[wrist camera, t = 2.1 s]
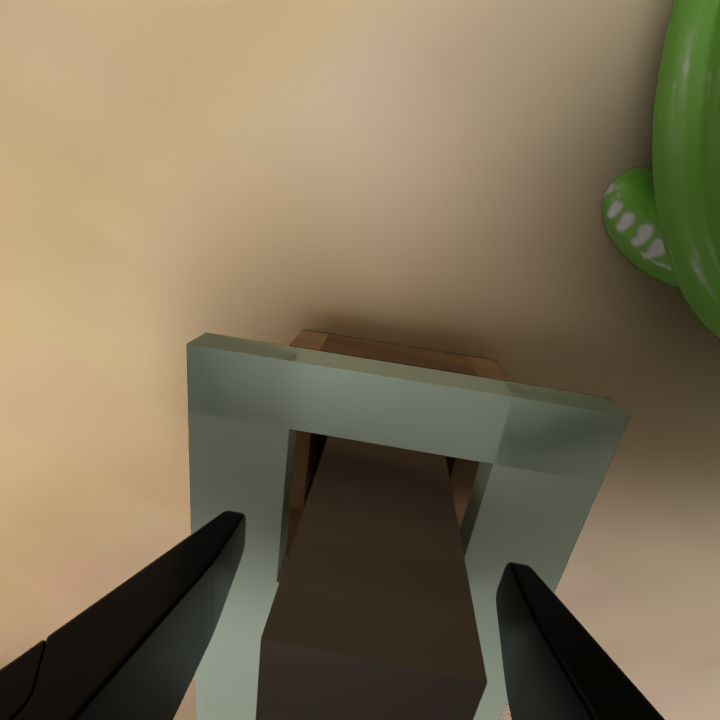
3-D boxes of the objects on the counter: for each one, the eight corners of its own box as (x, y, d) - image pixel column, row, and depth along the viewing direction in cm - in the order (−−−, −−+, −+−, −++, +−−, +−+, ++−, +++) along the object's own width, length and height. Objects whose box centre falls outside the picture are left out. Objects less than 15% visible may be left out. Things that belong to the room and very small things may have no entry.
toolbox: (417, 734, 18) (420, 849, 15) (248, 699, 18) (214, 804, 15) (532, 366, 12) (584, 425, 8) (267, 324, 12) (217, 364, 9)
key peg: (417, 471, 13) (439, 804, 6) (336, 456, 13) (252, 764, 6) (434, 396, 12) (488, 683, 5) (346, 382, 12) (260, 639, 5)
